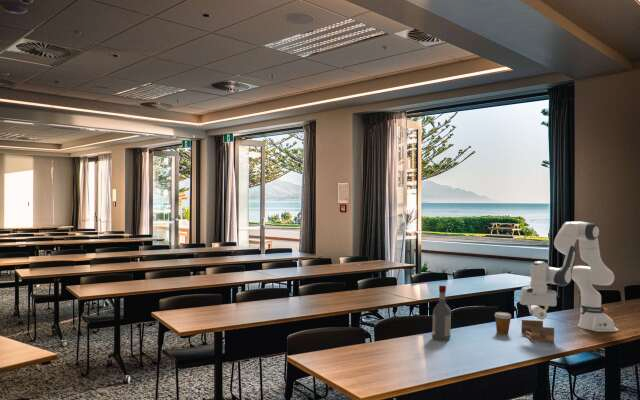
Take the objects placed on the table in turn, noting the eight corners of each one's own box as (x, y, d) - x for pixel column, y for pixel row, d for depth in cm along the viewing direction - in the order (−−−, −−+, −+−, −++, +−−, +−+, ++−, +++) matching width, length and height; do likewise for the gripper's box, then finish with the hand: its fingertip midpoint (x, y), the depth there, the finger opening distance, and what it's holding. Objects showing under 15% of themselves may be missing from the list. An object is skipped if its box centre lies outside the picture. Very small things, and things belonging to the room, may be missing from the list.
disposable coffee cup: (512, 336, 288) (512, 316, 288) (495, 335, 290) (495, 314, 290) (509, 332, 297) (509, 312, 297) (492, 331, 299) (493, 311, 299)
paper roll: (527, 313, 293) (530, 303, 293) (537, 315, 292) (540, 306, 292) (535, 318, 280) (537, 307, 280) (545, 320, 280) (548, 310, 280)
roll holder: (520, 332, 297) (521, 319, 297) (541, 333, 296) (541, 320, 296) (532, 342, 277) (533, 327, 277) (554, 343, 276) (555, 328, 276)
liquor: (450, 338, 281) (452, 285, 281) (447, 342, 273) (449, 287, 273) (434, 335, 285) (436, 284, 285) (431, 339, 276) (432, 286, 277)
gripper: (554, 289, 289) (553, 312, 289) (518, 287, 290) (518, 311, 290) (558, 291, 283) (558, 315, 282) (522, 289, 284) (521, 313, 284)
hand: (537, 313), depth 286 cm, fingers closed on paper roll, 6 cm apart
